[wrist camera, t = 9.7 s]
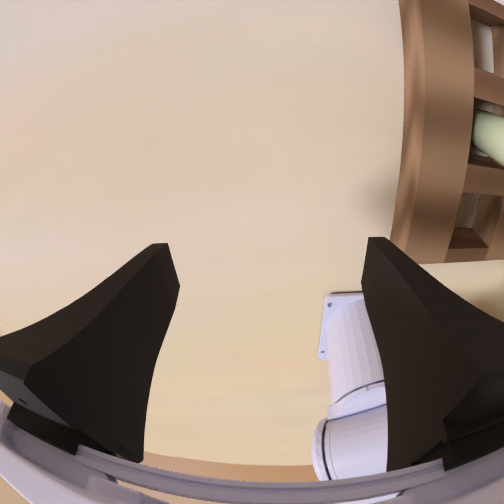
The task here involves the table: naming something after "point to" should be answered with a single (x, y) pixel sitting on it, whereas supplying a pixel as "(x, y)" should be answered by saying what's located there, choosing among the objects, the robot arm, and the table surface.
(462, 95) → the hole block
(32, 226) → the table surface
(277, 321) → the table surface
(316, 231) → the table surface
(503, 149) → the sage peg
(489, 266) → the table surface
